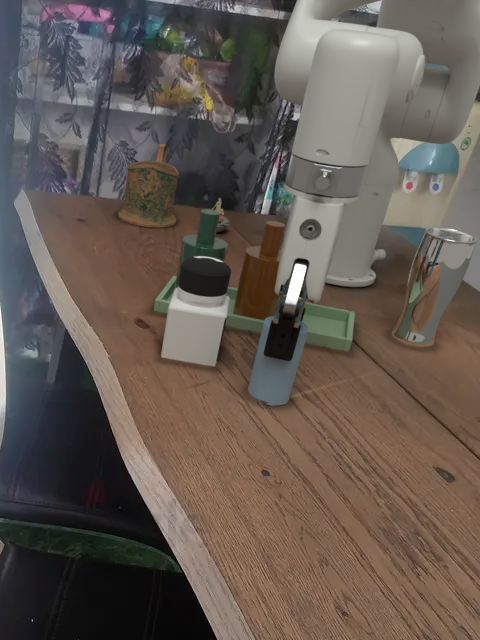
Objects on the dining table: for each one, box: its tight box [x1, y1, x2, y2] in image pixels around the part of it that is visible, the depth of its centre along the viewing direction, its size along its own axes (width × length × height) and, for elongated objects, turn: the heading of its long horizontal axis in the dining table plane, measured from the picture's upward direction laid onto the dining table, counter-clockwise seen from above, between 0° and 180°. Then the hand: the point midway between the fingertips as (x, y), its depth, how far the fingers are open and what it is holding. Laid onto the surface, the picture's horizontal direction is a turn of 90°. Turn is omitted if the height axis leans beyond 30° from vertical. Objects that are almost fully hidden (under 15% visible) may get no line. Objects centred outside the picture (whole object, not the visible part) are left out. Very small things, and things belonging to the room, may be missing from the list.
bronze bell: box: [117, 143, 179, 228], centre depth 144 cm, size 12×18×12 cm, turn 167°
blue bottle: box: [247, 300, 309, 407], centre depth 84 cm, size 5×5×12 cm
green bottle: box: [175, 208, 229, 289], centre depth 105 cm, size 6×6×13 cm
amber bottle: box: [233, 220, 286, 320], centre depth 103 cm, size 6×6×13 cm
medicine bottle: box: [160, 256, 232, 367], centre depth 92 cm, size 7×7×12 cm
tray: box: [153, 275, 356, 352], centre depth 107 cm, size 28×12×2 cm, turn 72°
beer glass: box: [391, 226, 478, 347], centre depth 102 cm, size 7×7×15 cm
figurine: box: [211, 197, 231, 233], centre depth 140 cm, size 5×4×6 cm
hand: (280, 346), depth 84 cm, fingers closed on blue bottle, 5 cm apart
